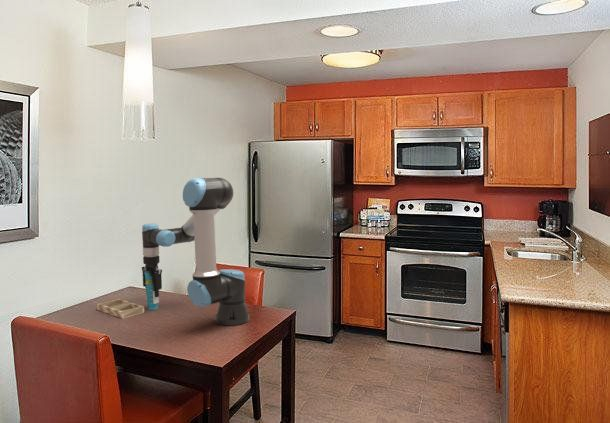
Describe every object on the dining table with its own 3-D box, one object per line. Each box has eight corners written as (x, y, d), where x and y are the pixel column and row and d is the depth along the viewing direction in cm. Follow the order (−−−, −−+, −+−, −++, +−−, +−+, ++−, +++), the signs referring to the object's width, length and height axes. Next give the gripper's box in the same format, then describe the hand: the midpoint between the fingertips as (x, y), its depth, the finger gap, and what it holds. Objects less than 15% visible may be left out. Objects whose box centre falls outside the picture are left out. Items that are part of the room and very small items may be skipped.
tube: (148, 311, 226) (146, 272, 224) (143, 309, 229) (142, 270, 227) (162, 308, 231) (161, 269, 229) (157, 305, 234) (156, 268, 233)
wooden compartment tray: (144, 312, 224) (144, 306, 224) (122, 318, 215) (121, 312, 215) (119, 304, 237) (118, 298, 237) (97, 309, 228) (97, 303, 228)
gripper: (168, 256, 225) (170, 303, 227) (147, 252, 236) (148, 297, 238) (155, 258, 219) (156, 307, 221) (134, 254, 230) (135, 300, 232)
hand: (152, 302), depth 230 cm, fingers closed on tube, 5 cm apart
